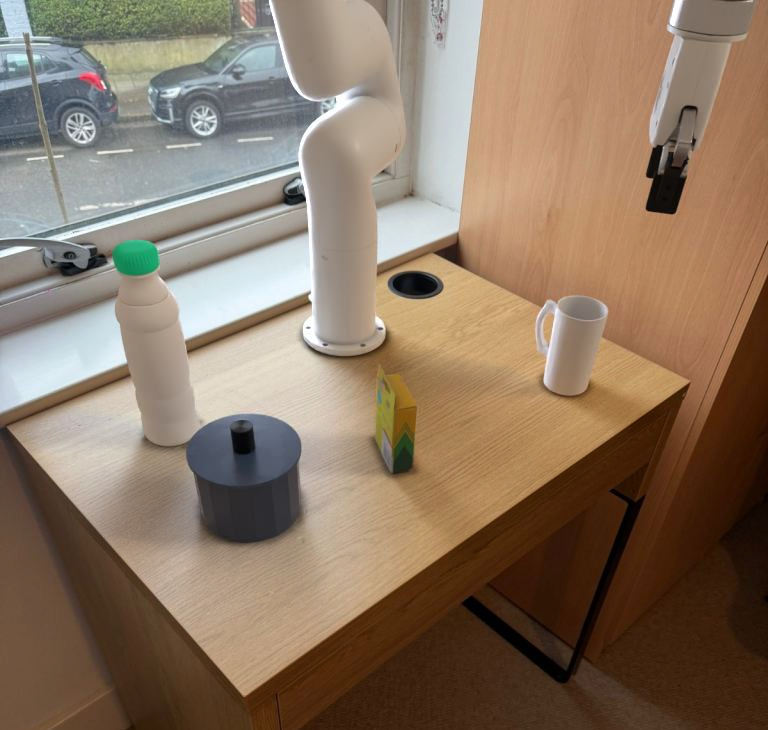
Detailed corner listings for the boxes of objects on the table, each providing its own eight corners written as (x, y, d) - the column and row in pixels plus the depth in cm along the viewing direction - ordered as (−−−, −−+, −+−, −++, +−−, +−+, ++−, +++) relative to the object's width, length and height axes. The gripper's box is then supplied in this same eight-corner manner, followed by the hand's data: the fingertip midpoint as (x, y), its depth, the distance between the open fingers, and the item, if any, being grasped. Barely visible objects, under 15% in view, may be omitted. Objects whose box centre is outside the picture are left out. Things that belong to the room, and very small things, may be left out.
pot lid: (164, 454, 83) (157, 425, 80) (253, 407, 90) (249, 378, 87) (235, 511, 77) (231, 481, 74) (325, 456, 84) (324, 426, 81)
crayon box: (413, 471, 94) (419, 393, 86) (390, 475, 94) (394, 397, 86) (396, 435, 99) (399, 358, 91) (374, 438, 99) (376, 362, 91)
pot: (182, 507, 89) (170, 450, 83) (258, 462, 95) (252, 407, 89) (244, 558, 83) (235, 502, 77) (320, 507, 89) (318, 451, 83)
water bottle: (210, 422, 100) (180, 238, 83) (183, 454, 95) (145, 266, 78) (163, 410, 102) (123, 227, 84) (134, 441, 97) (85, 254, 80)
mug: (598, 385, 109) (619, 309, 101) (569, 403, 106) (588, 326, 97) (543, 355, 114) (558, 281, 106) (514, 372, 111) (527, 296, 102)
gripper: (669, -6, 80) (626, 163, 92) (672, 32, 68) (623, 221, 79) (743, 0, 78) (691, 171, 90) (760, 40, 66) (697, 231, 78)
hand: (659, 194), depth 85 cm, fingers open, 9 cm apart
